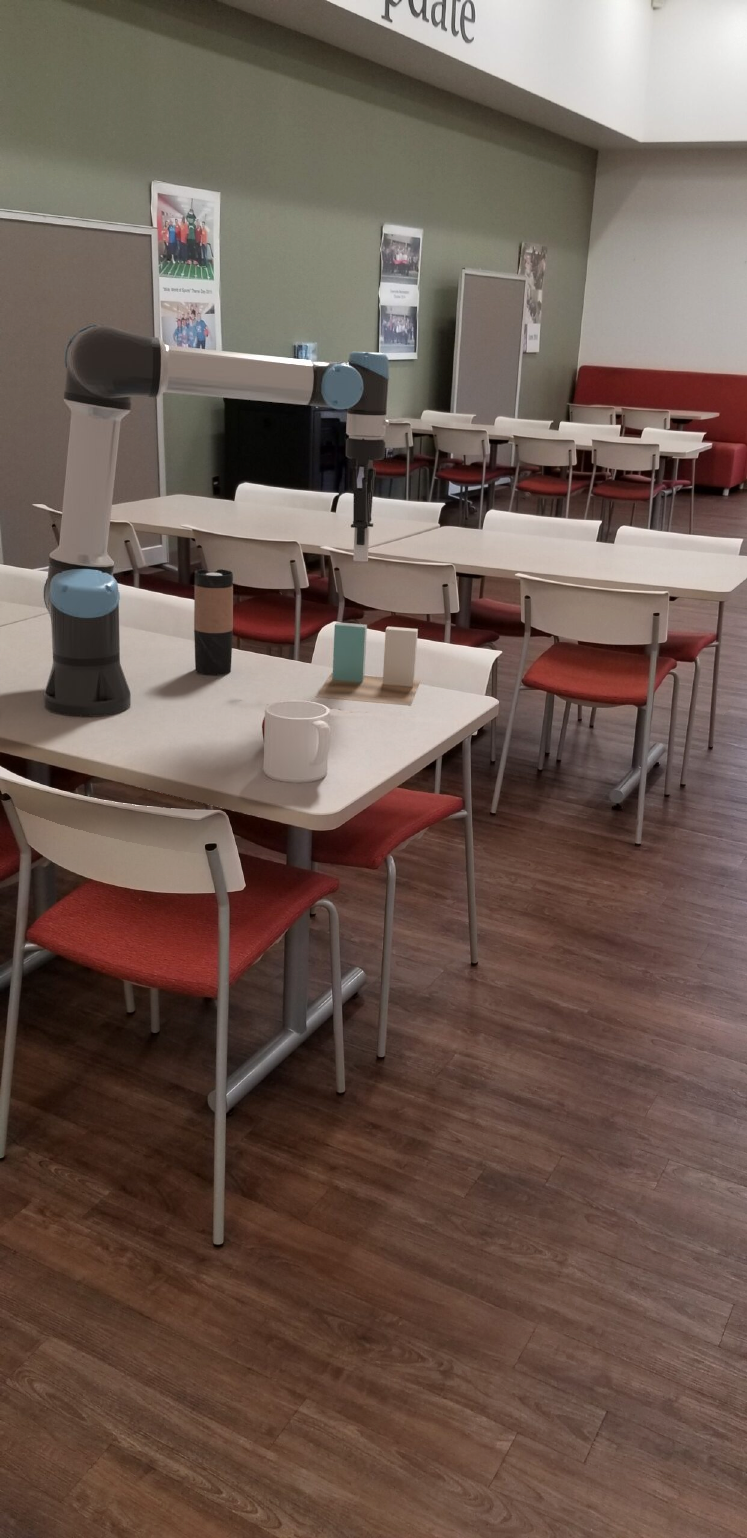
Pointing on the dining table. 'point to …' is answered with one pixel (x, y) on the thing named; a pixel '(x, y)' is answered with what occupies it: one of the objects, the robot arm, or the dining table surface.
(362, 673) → the tile teal
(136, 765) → the dining table surface
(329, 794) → the dining table surface
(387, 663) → the tile plain
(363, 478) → the robot arm
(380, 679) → the board
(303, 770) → the mug
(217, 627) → the travel mug
